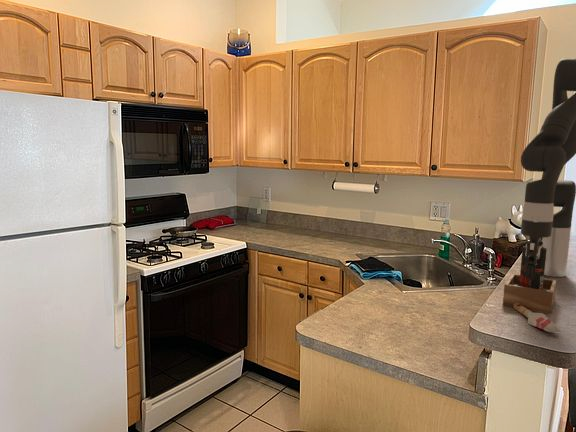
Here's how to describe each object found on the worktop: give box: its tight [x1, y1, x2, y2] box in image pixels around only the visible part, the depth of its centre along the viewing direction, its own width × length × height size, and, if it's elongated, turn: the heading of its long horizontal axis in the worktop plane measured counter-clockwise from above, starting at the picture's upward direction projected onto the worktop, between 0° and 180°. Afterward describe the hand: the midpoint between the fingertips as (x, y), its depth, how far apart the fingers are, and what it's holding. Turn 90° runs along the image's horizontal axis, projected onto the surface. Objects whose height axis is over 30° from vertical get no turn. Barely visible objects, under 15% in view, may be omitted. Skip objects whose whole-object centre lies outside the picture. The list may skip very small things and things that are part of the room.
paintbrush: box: [513, 303, 563, 333], centre depth 112 cm, size 4×3×20 cm
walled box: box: [502, 273, 557, 315], centre depth 126 cm, size 14×12×6 cm
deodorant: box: [519, 245, 547, 290], centre depth 125 cm, size 6×6×15 cm
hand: (531, 275), depth 125 cm, fingers open, 8 cm apart
